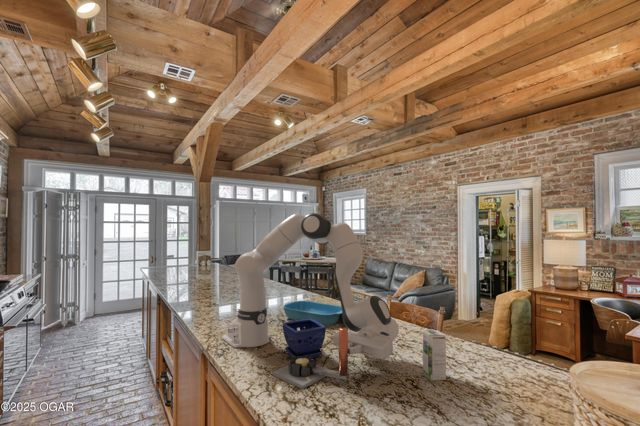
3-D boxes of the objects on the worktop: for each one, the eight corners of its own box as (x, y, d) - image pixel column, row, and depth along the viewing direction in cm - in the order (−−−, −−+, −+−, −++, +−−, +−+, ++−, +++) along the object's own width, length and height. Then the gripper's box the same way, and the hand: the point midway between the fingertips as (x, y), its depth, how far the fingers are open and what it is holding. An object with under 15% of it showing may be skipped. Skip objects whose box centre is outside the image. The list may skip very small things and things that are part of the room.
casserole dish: (353, 319, 173) (353, 306, 173) (332, 330, 154) (332, 315, 154) (299, 310, 192) (299, 298, 193) (275, 319, 174) (275, 305, 174)
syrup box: (422, 373, 108) (421, 329, 108) (439, 372, 108) (438, 329, 109) (429, 381, 102) (428, 335, 103) (447, 380, 102) (446, 334, 103)
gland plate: (272, 375, 106) (272, 361, 106) (301, 362, 116) (301, 349, 116) (302, 389, 96) (302, 373, 97) (331, 373, 107) (331, 359, 107)
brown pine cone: (356, 321, 176) (344, 327, 163) (349, 315, 178) (336, 321, 166) (361, 312, 174) (349, 318, 162) (354, 307, 177) (341, 312, 164)
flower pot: (294, 365, 114) (294, 331, 114) (281, 352, 125) (281, 322, 126) (326, 358, 120) (326, 326, 120) (311, 347, 131) (311, 317, 132)
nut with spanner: (283, 372, 104) (284, 324, 105) (297, 363, 112) (298, 317, 113) (342, 387, 95) (342, 333, 96) (352, 375, 103) (352, 325, 104)
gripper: (346, 324, 118) (322, 334, 107) (396, 336, 105) (375, 348, 94) (346, 341, 118) (322, 353, 107) (396, 355, 105) (375, 370, 94)
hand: (347, 351), depth 101 cm, fingers closed
